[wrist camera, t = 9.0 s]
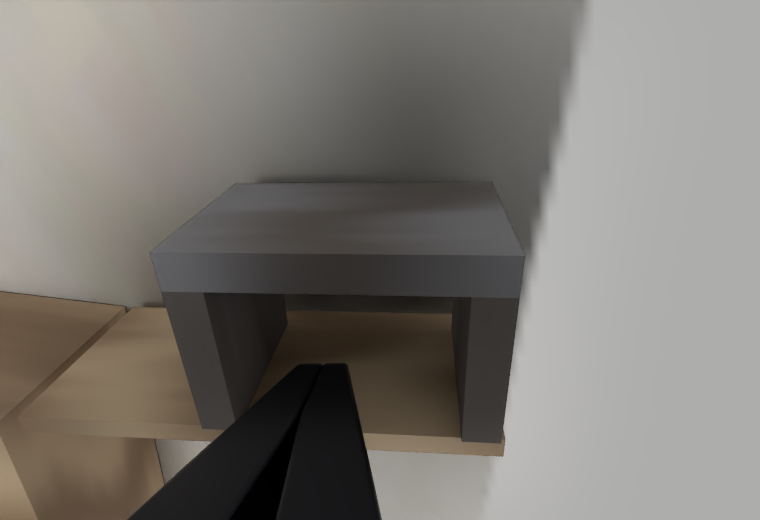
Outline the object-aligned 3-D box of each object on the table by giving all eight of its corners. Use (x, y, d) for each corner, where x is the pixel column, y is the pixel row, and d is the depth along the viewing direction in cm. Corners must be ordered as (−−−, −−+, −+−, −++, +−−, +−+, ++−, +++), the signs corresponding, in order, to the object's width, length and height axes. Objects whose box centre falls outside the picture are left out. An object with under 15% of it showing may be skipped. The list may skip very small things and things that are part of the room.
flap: (491, 173, 11) (531, 255, 7) (479, 328, 14) (503, 460, 9) (89, 176, 12) (-81, 250, 8) (137, 319, 15) (22, 435, 10)
